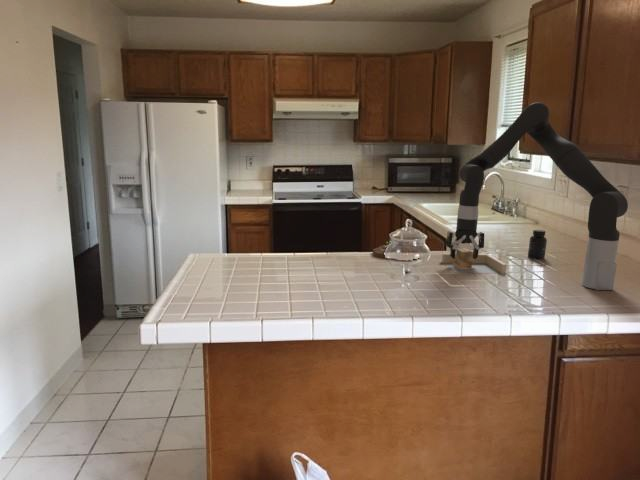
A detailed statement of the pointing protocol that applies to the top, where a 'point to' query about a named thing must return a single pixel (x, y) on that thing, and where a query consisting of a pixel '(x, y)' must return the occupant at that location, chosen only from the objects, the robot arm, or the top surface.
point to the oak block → (464, 258)
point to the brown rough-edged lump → (380, 250)
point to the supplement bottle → (537, 245)
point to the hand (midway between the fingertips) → (463, 258)
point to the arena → (476, 264)
